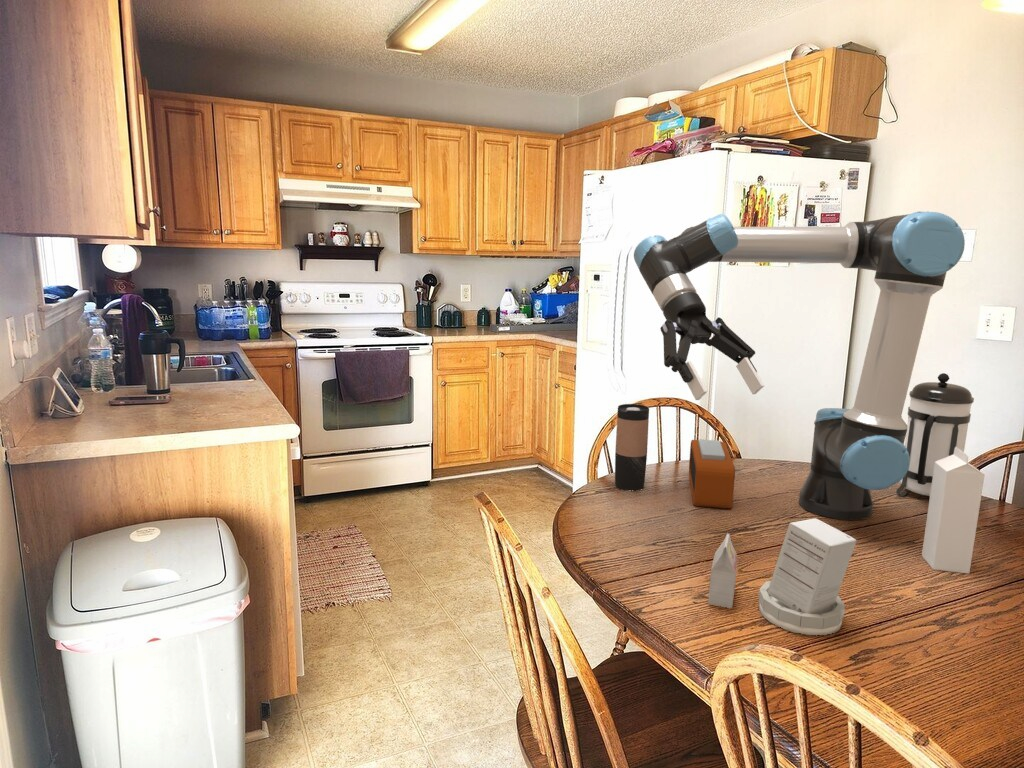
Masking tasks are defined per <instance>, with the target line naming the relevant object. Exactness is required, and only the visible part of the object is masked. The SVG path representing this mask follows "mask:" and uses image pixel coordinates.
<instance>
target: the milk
mask: <svg viewBox="0 0 1024 768" xmlns="http://www.w3.org/2000/svg"><path fill="white" fill-rule="evenodd" d="M984 482H985V473H984V472H982V471H980V470H979V469H978V468H977V467H975V466H974V465H972V464H971V463H969V454H967V453H966V452H965V451H964V452H963V451H961V450H960V449H958V448H957V447H955V449H954V454H953V455H951V456H948V457H946V458H943V459H941V460H938V461H936V462H935V464H934V471H933V478H932V486H931V493H930V496H929V501H928V508H927V516H926V520H925V521H926V523H925V530H924V537H923V543H922V551H921V556H922V558H923V559H924V560H925V563H927V564H928V565H929V567H930V568H931V569H932V570H933V571H943V572H951V573H952V572H953V573H959V574H970V572H971V566H972V559H973V553H974V547H975V539H976V533H977V527H978V520H979V519H978V518H979V513H980V509H981V508H980V506H981V501H982V495H983V494H982V493H983V488H984V487H983V486H984Z"/></svg>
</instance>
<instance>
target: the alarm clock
mask: <svg viewBox="0 0 1024 768" xmlns="http://www.w3.org/2000/svg"><path fill="white" fill-rule="evenodd" d="M689 448H690V449H689V462H688V480H689V485H690V490H691V491H690V492H691V497H692V503H693V505H694V507H695V506H696V507H705V508H706V507H707V508H719V509H727V508H728V510H729V509H732V508H733V500H734V490H735V480H736V469H735V467H736V466H735V465H734V464H735V463H734V462H733V459H732V457H731V454H730V452H729V449H728V447H727V444H726V442H725V441H720V440H717V439H715V440H713V439H691V440H690V447H689Z"/></svg>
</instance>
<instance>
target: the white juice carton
mask: <svg viewBox="0 0 1024 768" xmlns="http://www.w3.org/2000/svg"><path fill="white" fill-rule="evenodd" d="M723 539H724V540H722V543H721V544H720V546H719V547H717V550H716V551H715V553H714V554H713V560H712V564H711V568H710V577H709V590H708V601H707V603H708V605H710V604H711V605H712V606H715V605H717V607H720V606H721V608H725V607H727V608H726V609H730V608H732V609H733V604H734V596H735V590H736V580H737V577H736V576H737V569H738V555H737V552H736V550H735V548H734V546H733V543H732V539H731V534H730V533H728V532H727V533H726V536H725V537H724V538H723Z"/></svg>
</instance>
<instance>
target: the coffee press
mask: <svg viewBox="0 0 1024 768" xmlns="http://www.w3.org/2000/svg"><path fill="white" fill-rule="evenodd" d="M937 379H938V381H939V382H938V381H937V382H934V381H933V382H932V381H931V382H921V383H918V384H916V385H915V386H913V388H912V390H911V391H909V393H908V394H909V398H910V399H909V400H910V401H909V406H908V407H907V408H908V409H907V416H908V417H907V423H906V424H907V426H908V428H907V433H906V437H905V441H904V446H905V447H906V448H907V451H908V453H909V457H910V465H909V468H908V471H907V473H906V475H905V476H904V477H903V478H902V479H901V480H900V481H899V482H900V486H899V487H898V488H897V489H896V491H895V492H896V494H897V495H898V496H900V497H904V496H906V495H908V493H910V492H913V493H915V494H918V495H923V496H928V497H930V493H931V486H932V478H933V471H934V464H935V462H936V461H938V460H941V459H943V458H946V457H948V456H951V455H953V454H954V449H955V447H957V448H958V449H960V450H961V451H963V452H964V453H965V449H966V440H967V435H968V428H969V424H970V421H971V416H972V414H971V408H972V405H973V404H974V401H975V398H974V397H973V396H972V392H971V391H970V390H969V389H968V388H966V387H964V386H962V385H958V384H953V383H947V382H948V381H949V380H950V376H949V374H948V373H943V372H942V373H940V374H939V375H938V376H937Z"/></svg>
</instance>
